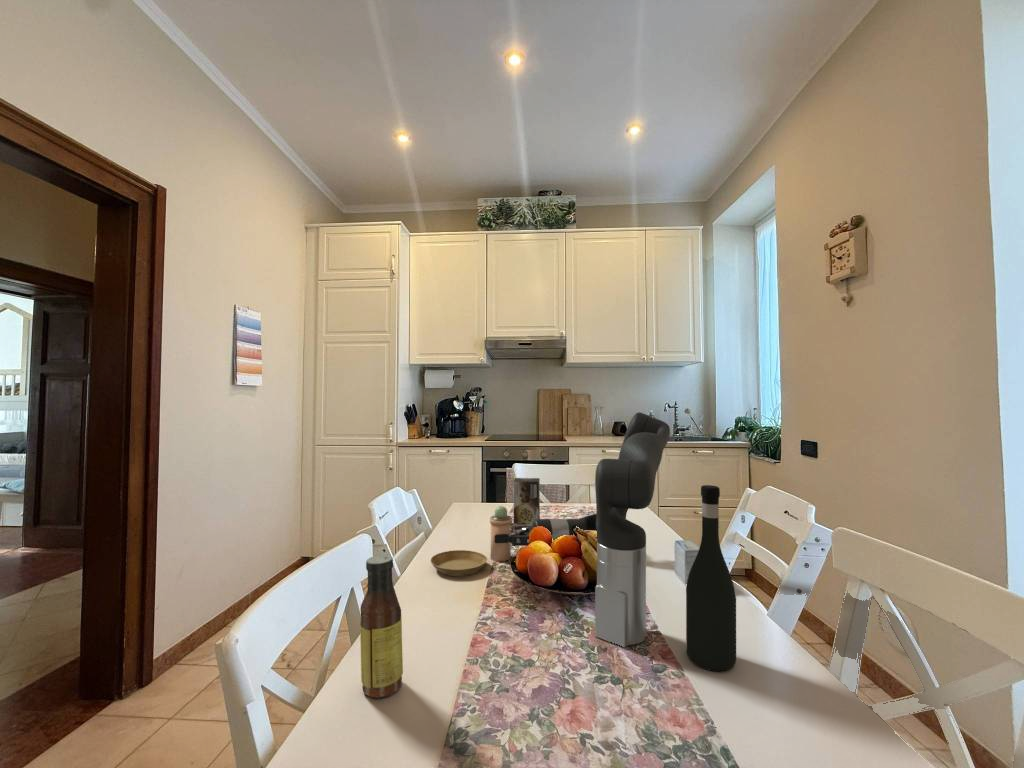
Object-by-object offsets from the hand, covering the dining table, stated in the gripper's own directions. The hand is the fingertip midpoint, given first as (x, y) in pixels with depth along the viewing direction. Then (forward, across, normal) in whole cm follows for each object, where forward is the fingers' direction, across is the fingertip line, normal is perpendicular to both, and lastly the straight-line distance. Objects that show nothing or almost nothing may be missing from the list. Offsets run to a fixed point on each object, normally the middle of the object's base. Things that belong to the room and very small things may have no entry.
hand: (493, 534), depth 130 cm
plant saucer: (+10, +6, +7) cm, 13 cm away
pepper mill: (-2, 0, +6) cm, 7 cm away
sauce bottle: (+24, +54, +7) cm, 60 cm away
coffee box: (-15, -31, +7) cm, 35 cm away
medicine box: (-46, +22, +7) cm, 52 cm away
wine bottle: (-31, +55, +7) cm, 64 cm away
